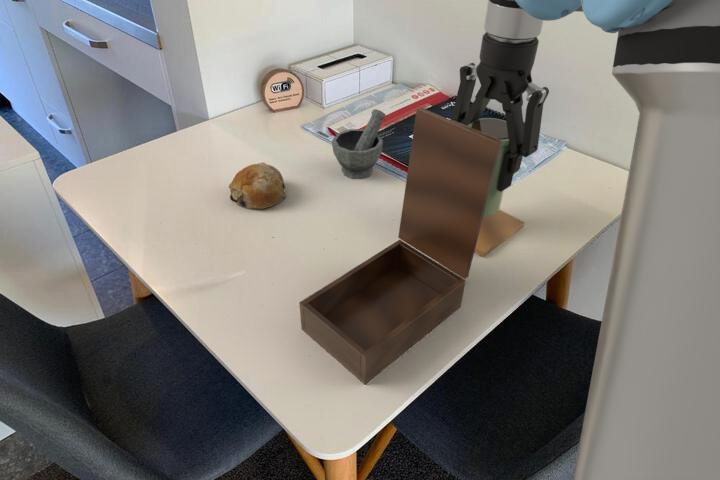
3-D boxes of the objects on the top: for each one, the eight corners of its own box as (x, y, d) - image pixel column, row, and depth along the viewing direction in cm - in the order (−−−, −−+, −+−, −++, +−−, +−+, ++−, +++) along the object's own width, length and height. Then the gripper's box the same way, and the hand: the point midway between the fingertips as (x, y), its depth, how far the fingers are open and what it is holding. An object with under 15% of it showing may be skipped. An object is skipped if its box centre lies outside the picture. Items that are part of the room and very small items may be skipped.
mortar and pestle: (350, 189, 100) (350, 132, 92) (324, 168, 106) (322, 113, 98) (396, 171, 105) (399, 116, 98) (368, 152, 111) (370, 99, 103)
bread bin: (364, 385, 65) (365, 358, 62) (301, 329, 72) (299, 302, 69) (461, 307, 76) (466, 280, 73) (397, 265, 83) (399, 239, 80)
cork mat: (483, 257, 85) (484, 252, 84) (426, 224, 91) (427, 220, 91) (523, 226, 91) (524, 222, 91) (468, 198, 98) (468, 193, 97)
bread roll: (282, 224, 97) (297, 188, 93) (227, 212, 92) (242, 175, 88) (273, 195, 104) (288, 161, 101) (223, 183, 99) (236, 147, 96)
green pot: (484, 223, 84) (500, 145, 75) (446, 203, 89) (457, 127, 80) (511, 204, 89) (529, 129, 80) (474, 186, 93) (487, 112, 84)
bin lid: (498, 142, 60) (521, 132, 63) (416, 108, 67) (441, 100, 70) (464, 279, 72) (485, 265, 75) (397, 237, 79) (419, 226, 82)
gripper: (593, 46, 67) (550, 194, 82) (468, 13, 79) (450, 148, 93) (564, 60, 63) (524, 213, 78) (436, 23, 74) (422, 163, 89)
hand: (484, 178), depth 85 cm, fingers closed on green pot, 7 cm apart
